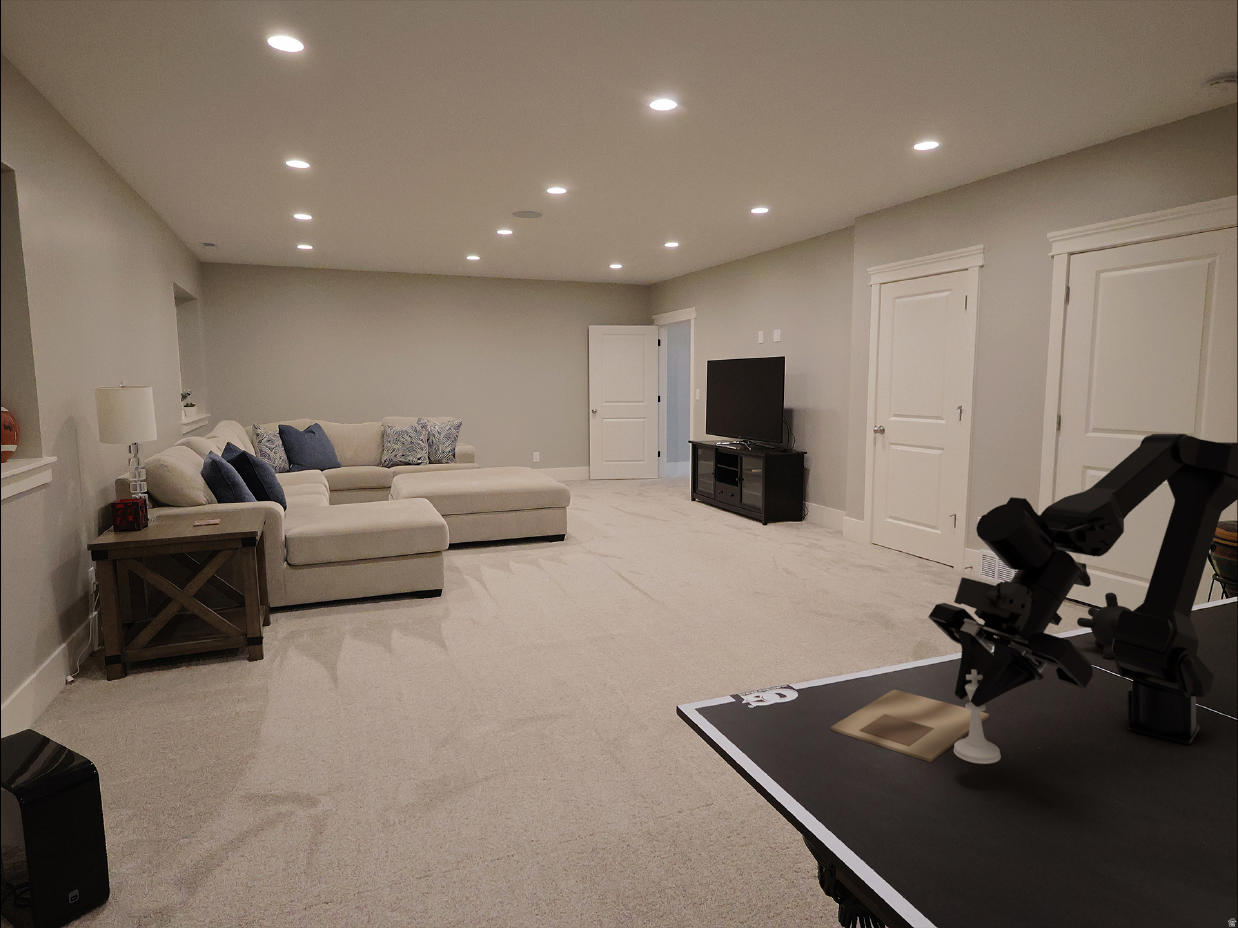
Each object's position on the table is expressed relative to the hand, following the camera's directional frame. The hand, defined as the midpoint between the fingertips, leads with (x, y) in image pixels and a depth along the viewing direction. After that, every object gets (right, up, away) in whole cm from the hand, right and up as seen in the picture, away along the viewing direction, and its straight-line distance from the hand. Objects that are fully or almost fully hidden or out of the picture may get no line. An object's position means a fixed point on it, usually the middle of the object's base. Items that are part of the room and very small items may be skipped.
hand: (965, 700), depth 83 cm
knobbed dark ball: (+46, -5, +40) cm, 61 cm away
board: (+1, -9, +17) cm, 19 cm away
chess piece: (+2, -7, +1) cm, 7 cm away
